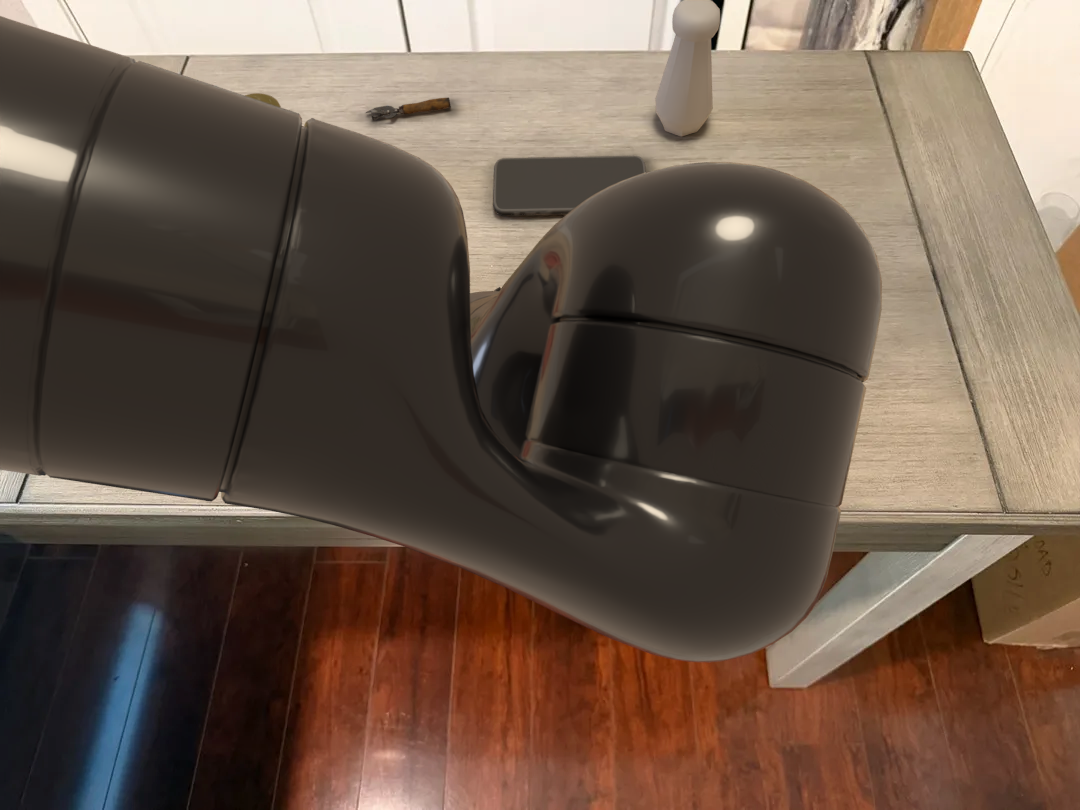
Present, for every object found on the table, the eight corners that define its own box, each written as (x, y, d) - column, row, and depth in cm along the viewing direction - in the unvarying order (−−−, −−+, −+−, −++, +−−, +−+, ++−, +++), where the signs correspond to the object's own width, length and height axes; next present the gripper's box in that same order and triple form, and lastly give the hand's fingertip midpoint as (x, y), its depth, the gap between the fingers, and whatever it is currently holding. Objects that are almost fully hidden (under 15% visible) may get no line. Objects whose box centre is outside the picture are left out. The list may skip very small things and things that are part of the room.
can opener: (451, 103, 86) (449, 94, 85) (451, 118, 85) (450, 109, 84) (366, 110, 86) (363, 101, 85) (365, 125, 85) (363, 116, 84)
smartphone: (650, 209, 77) (492, 212, 77) (649, 215, 78) (493, 219, 78) (644, 153, 81) (493, 156, 81) (643, 160, 82) (494, 163, 82)
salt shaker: (719, 133, 83) (742, 17, 72) (668, 148, 82) (684, 33, 71) (692, 97, 86) (711, -20, 75) (643, 112, 85) (655, -4, 74)
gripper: (557, 213, 34) (455, 257, 49) (275, 420, 31) (258, 399, 46) (648, 357, 36) (524, 357, 51) (394, 567, 33) (340, 500, 48)
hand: (399, 377), depth 49 cm, fingers open, 8 cm apart
